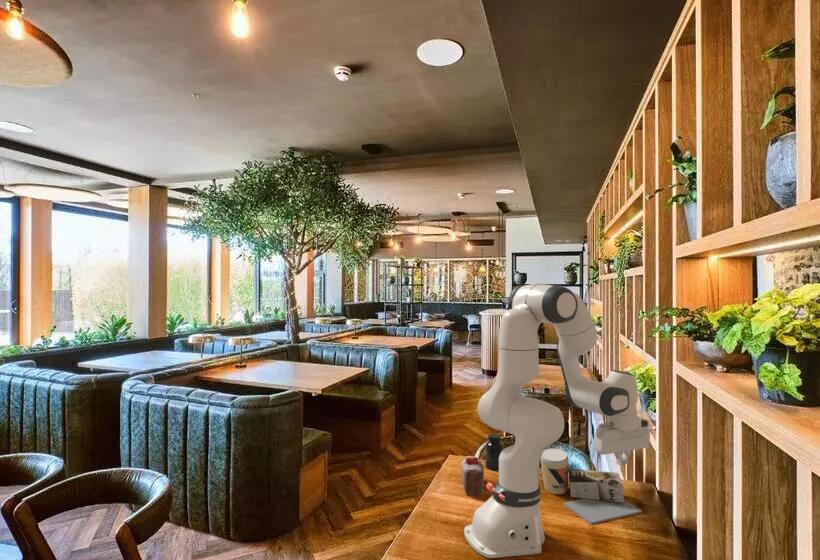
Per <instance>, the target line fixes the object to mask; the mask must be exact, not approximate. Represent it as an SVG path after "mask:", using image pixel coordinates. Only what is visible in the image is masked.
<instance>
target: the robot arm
mask: <svg viewBox="0 0 820 560" xmlns="http://www.w3.org/2000/svg"><path fill="white" fill-rule="evenodd" d="M506 308H507V310H506V311H505V312H504V313H502V316H501V317H500V318H501V319H500V324H499V331H498V344H497V345H498V347H497V350H498V355H497V356H498V357H497V359H498V360H497V361H498V362H497V373H496V378H495V381H494V383H493V385H492V386H491V388H490V389H488V390H487V391H485V393H484V394H482V395H481V397H479V401H478V403H477V414H478V417H479V420H480V421H481V422H482V423H484V424H485V425H487V426H489V427H490V428H492V429H494V430H497V431H501V432H504V433H508V434H511V435H514V439H515V441H514V444H512V445H510V446H507V447H504V450H503V451H502V452H501V454H500V456H499V470H498V479H497V482H496V484H495V485H494V484H493V483H492V482H487V484H486V485H485V486H486V487H485V488H486V489H487V491H489V492H490V493H492V495H491V496H490V497H489V498H488V499H487V500H486V501H485V502H484V503H482V505H481V506H479V507H478V508H477V509H476V510H475V511H474V513H473V517H472V522H471V523H470V524H469V525H466V526H465V527H464V529H463V535H464V538H465V539H466V541H467V543H468V544H469V545H470V547H471V548H472V549H474V551H475V552H477V553H478V554H479V555H481V556H483V557H485V558H487V559H495V558H496V559H497V558H507V557H517V556H518V557H519V556H528V555H537V554H538V555H539V554H541V553H542V549H543V548H542V545H543V544H544V542H545V539H546V536H545V533H544V530H543V524H542V520H541V519H542V517H541V511H540V502H541V495H542V494H541V484H540V465H541V456H542V453H543V451H544V450H545V449H547V447H549V446H550V445H551V444H553V443H555V442H557V441H559V439H560V438H561V436H562V435H563V433H564V430H565V417H564V414H563V413H562V411H561V409H560V408H559V407H557V406H555V405H553V404H552V403H549V402H546V400H542V399H537V398H533V397H527V396H524V395H523V387H524V386H525V385H528V384H530V383H531V382H533V381H535V380H536V378H537V377H538V375H539V373H540V371H539V368H540V365H539V363H540V362H539V361H540V360H539V359H540V358H539V337H538V336H539V335H538V334H539V333H538V332H539V327H540V325H541V323H545V324H553V327H554V328H555V331H556V333H557V338H558V341H557V344H556V352H557V357H558V361H559V365H560V369H561V373H562V377H563V382H564V392H565V398H566V400H567V402H568V403H569V404H570V405H571V406H572V407H574V408H579V409H583V410H587V411H590V412H593V413H596V414H599V415H602V416H605V417H606V422H604V423H603V422H602V423H599V425H598V426H597V427H596V429H595V433H594V441H593V449H594V451H595V452H597V454H601V455H610V454H611V455H612V454H613V455H614V457H615V460H616V461H615V463H616V464H617V465H619V466H623V465H627V464H628V463H629V462H628V459H629V457H630V456H631V451H636V450H641V449H648V448H649V446H650V443H651V430H650V428H649V427H650V426H651V422H650V420H649V419H647V418H644V417H642V416H639V415H638V410H637V404H638V402H639V401H638V400H639V399H638V395H639V394H638V392H639V391H638V382H637V379H636V376H635V375H634V374H632V373H631V372H626V371H622V370H618V369H611V370H609V373H608V376H607V377H606V378H605V379H603V380H602V381H596V380H593V379H590V378H587V377H586V376H585V375H584V374H583V373H582V368H581V364H580V361H579V356H583V355H585V354H587V353H588V352H590V351H591V350H592V349H593V348H594V347H595V346H596V344H597V341H598V331H597V328H596V325H595V323H594V320H593V318H592V315H591V313H590V311H589V309H588V307H587V305H586V303H585V302H584V301H583V299H582V296H580V295H579V294H577V293H576V292H574V291H572V290H571V289H569V288H567V287H565V286H563V285H556V284H555V285H551V284H544V283H530V284H528V283H524V284H521V285H517V286H515V287H514V288H512V290H511V291H510V294H509V296H508V299H507V307H506Z"/></svg>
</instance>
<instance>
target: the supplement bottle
mask: <svg viewBox="0 0 820 560" xmlns="http://www.w3.org/2000/svg"><path fill="white" fill-rule="evenodd" d="M504 449H505V447H504V444H503V442H502V436H501V434H497V433H489V434H488V437H487V442H486V443H485V467H486V468H487V469H489V470H492V471H499V456H500V454H501V452H502V451H503V450H504Z"/></svg>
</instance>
